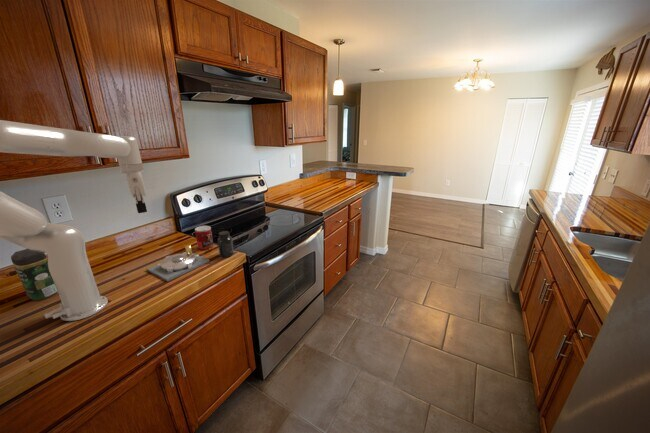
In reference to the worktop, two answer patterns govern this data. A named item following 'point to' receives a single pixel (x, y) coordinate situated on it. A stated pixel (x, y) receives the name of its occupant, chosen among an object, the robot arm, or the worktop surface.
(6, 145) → the robot arm
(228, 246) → the supplement bottle
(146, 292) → the worktop surface
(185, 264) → the silver shallow bowl
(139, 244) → the worktop surface
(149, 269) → the base plate
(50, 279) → the coffee jar
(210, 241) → the canned food
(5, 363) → the worktop surface
